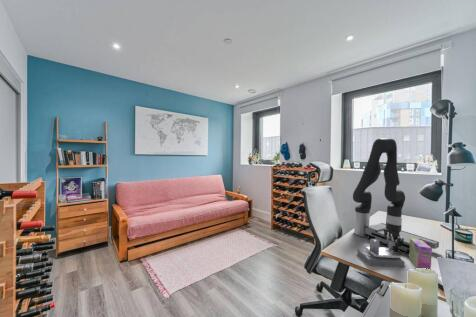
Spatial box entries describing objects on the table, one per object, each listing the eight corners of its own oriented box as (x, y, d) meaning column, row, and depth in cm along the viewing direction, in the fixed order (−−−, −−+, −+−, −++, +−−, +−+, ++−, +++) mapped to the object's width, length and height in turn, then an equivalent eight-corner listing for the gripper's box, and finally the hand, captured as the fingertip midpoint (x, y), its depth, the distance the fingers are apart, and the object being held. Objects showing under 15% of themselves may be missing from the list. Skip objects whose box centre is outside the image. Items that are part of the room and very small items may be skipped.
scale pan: (365, 248, 117) (366, 246, 117) (388, 249, 116) (388, 247, 116) (375, 257, 108) (375, 254, 108) (400, 258, 107) (400, 255, 107)
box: (431, 270, 103) (432, 247, 103) (417, 267, 105) (418, 245, 105) (421, 260, 113) (422, 239, 112) (408, 258, 115) (409, 238, 114)
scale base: (357, 254, 118) (357, 248, 118) (388, 255, 117) (388, 249, 117) (369, 265, 106) (369, 259, 106) (404, 267, 105) (404, 260, 105)
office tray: (421, 260, 113) (422, 246, 112) (364, 238, 142) (365, 227, 141) (438, 253, 122) (438, 240, 122) (381, 233, 151) (382, 222, 150)
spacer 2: (386, 248, 124) (386, 239, 124) (393, 248, 124) (393, 239, 123) (391, 252, 119) (391, 242, 119) (398, 252, 119) (399, 242, 119)
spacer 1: (368, 248, 114) (368, 238, 114) (375, 249, 114) (376, 238, 114) (372, 252, 110) (373, 242, 110) (380, 253, 110) (381, 242, 109)
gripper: (379, 218, 128) (378, 244, 129) (396, 226, 114) (394, 255, 115) (391, 218, 128) (390, 244, 128) (409, 227, 113) (408, 256, 114)
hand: (392, 249), depth 121 cm, fingers closed on spacer 2, 4 cm apart
